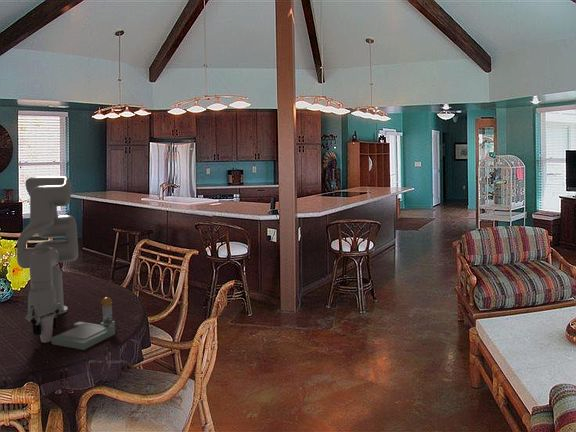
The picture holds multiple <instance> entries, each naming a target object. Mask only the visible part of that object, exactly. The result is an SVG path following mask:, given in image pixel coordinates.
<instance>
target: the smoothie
mask: <svg viewBox="0 0 576 432" xmlns="http://www.w3.org/2000/svg"><path fill="white" fill-rule="evenodd" d="M53 318H54V314H47V315H45V316H42V317H41V318H40V322H39V324H40V325H41V335H39V337H40V342H41V343H49V342H52V340H51V338H52V337H53V329H54V328H53ZM36 319H37V318H36ZM36 319H35V320H36Z"/></svg>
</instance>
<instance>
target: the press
mask: <svg viewBox="0 0 576 432" xmlns="http://www.w3.org/2000/svg"><path fill="white" fill-rule="evenodd" d="M76 326H77V327H76ZM115 327H116V326H115ZM115 327H113V328H112V327H105V326H101V324H97V323H91V322H85V321H78V322H75V323H73V327H72V328H69V330H65V331H63V332H60V333H59V334H56V335H54V336H52V338H51V340H52V341H51V344H52V345H54V346H55V345H56V346H61V347H67V348H71V349H76V350H83V351H85V350H87V349H88V348H91V347H93V346H94V345H95V346H96V344H98V343H100V342H102V341H105V340H107V339H108V338H110V337H113V336H115V335H116V328H115Z"/></svg>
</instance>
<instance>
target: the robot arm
mask: <svg viewBox="0 0 576 432" xmlns="http://www.w3.org/2000/svg"><path fill="white" fill-rule="evenodd" d="M25 189H26V191H27V193H28V196H29V197H30V198H29V211H30V213H29V223H28V224H27V226H26V227H25V228H24V229H23V230H22V232H21V233H20V234H19V236H18V239H17V243H16V244H17V245H16V259H17V260H16V262H17V264H18V267H20V268H22V269H29V280H30V290H28V297H27V313H26V315H25V317H24V318H25V320H26V321H27V322H29V323H30V324H31V325H32V333H33V335H36V336H40V335H41V325H40V324H39V322H40V318H41V317H42V316H45V315H47V314H54V318H53V329H54V330H55V329H56V328H57V317H58V316H60V315H63V314H65V313H67V312H68V311H69V309H68V308H69V307H68V306H66V305H65V304H64V303H65V302H64V287H63V286H64V285H63V272H62V269H61V267H59V266H58V265H57V263H69V262H74V261H77V260H78V257H79V242H78V229H77V227H78V225H77V221H76V218H75V217H74V216H73V215H69V214H67V215H65V214H64V215H63V214H62V215H60V214H59V215H58V207H66V206H68V205H69V204H70V202H71V196H72V181H71V179H70V178H69V177H68V176H64V175H55V176H54V175H49V176H46V175H45V176H42V175H39V176H32V177H29V178H27V179H26V180H25ZM35 235H38V237H39V238H41V239H42V238H43V239H52V238H53V239H57V238H65V239H60V240H44V241H40V242H38V243H37V244H35V246H34V247H28V248H26V245H27V243H28V241H29V240H30V238H32V237H33V236H35ZM36 318H37V319H36Z"/></svg>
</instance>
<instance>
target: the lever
mask: <svg viewBox="0 0 576 432" xmlns="http://www.w3.org/2000/svg"><path fill="white" fill-rule="evenodd" d="M100 302H101V305H102V306H101V307H102V308H101V309H102V313H101V314H102V322H100V325H101V326H105V327H112V328H113V327H116V321H115V320H113V305H112V304H113V299H112V298H111V297H108V296H105V297H103V298H102V299H101V301H100Z"/></svg>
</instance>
